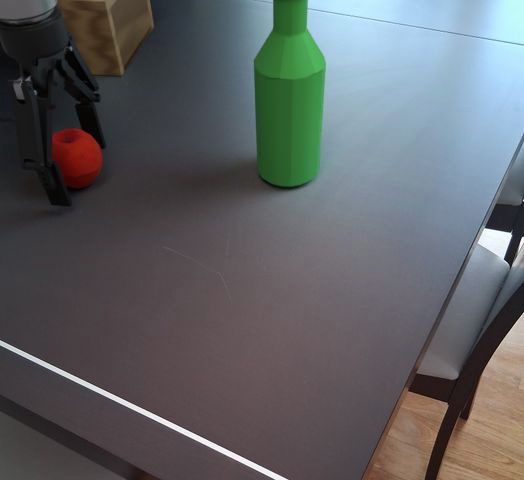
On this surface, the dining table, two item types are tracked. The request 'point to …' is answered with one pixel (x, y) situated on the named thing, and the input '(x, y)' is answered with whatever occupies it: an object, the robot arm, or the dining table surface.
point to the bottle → (289, 98)
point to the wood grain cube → (108, 31)
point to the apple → (76, 157)
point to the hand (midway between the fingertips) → (80, 174)
